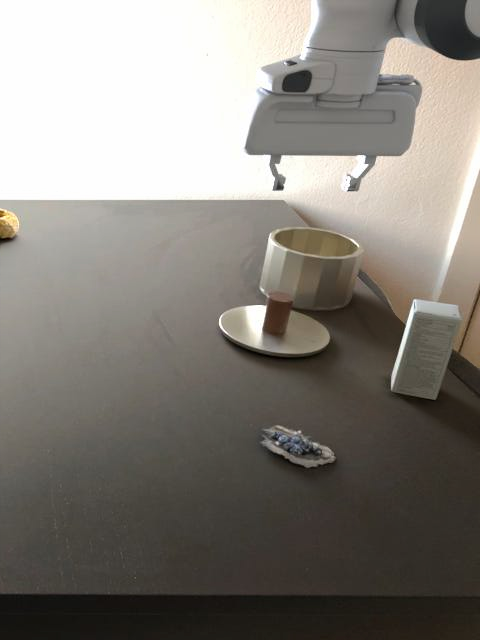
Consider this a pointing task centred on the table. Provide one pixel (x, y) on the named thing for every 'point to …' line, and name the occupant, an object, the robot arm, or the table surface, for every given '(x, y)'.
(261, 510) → the table surface
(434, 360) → the box
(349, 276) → the pot
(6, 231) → the bagel
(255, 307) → the lid
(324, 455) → the blueberries
